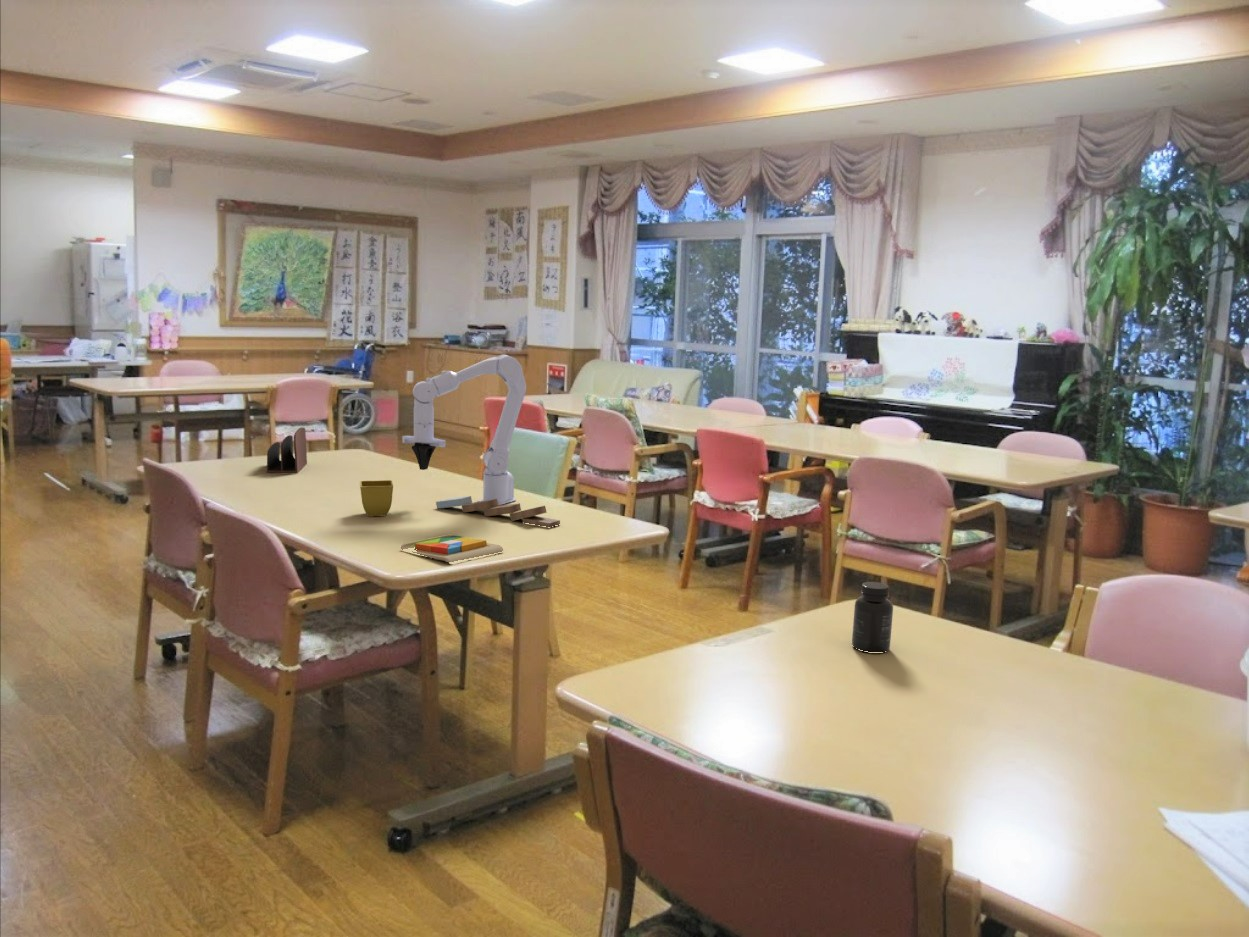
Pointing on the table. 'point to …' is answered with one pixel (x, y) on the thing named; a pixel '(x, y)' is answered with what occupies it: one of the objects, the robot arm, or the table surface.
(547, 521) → the domino
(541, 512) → the domino
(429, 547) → the wooden puzzle
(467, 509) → the domino
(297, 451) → the letter holder
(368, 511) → the flower pot
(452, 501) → the blue domino
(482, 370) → the robot arm
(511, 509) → the domino
